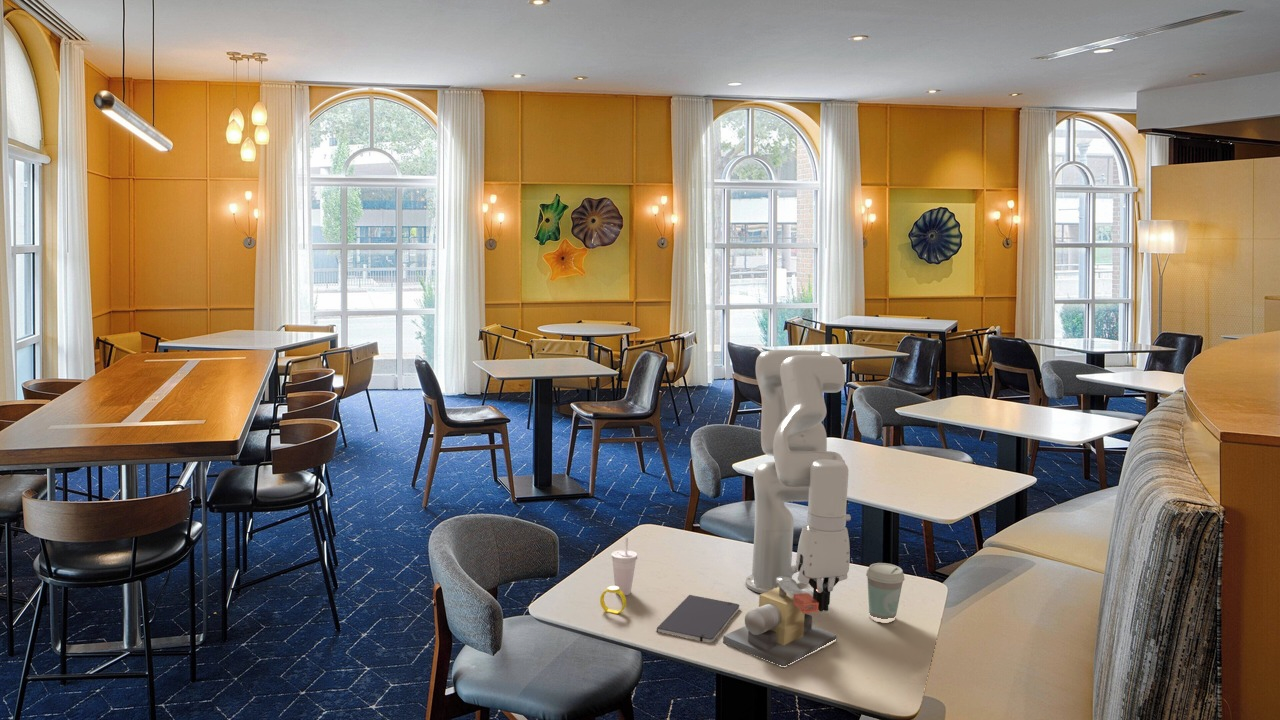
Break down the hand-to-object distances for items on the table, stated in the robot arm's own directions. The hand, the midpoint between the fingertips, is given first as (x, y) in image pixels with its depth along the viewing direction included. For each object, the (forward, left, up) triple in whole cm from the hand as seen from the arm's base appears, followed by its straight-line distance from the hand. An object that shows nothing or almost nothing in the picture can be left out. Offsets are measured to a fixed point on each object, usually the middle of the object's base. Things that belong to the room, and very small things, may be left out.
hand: (820, 608), depth 190 cm
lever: (+1, -6, +1) cm, 6 cm away
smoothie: (+4, -53, -12) cm, 55 cm away
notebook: (+2, -30, -13) cm, 33 cm away
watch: (+14, -46, -12) cm, 50 cm away
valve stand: (-2, -11, -12) cm, 16 cm away
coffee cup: (-31, -3, -12) cm, 33 cm away
